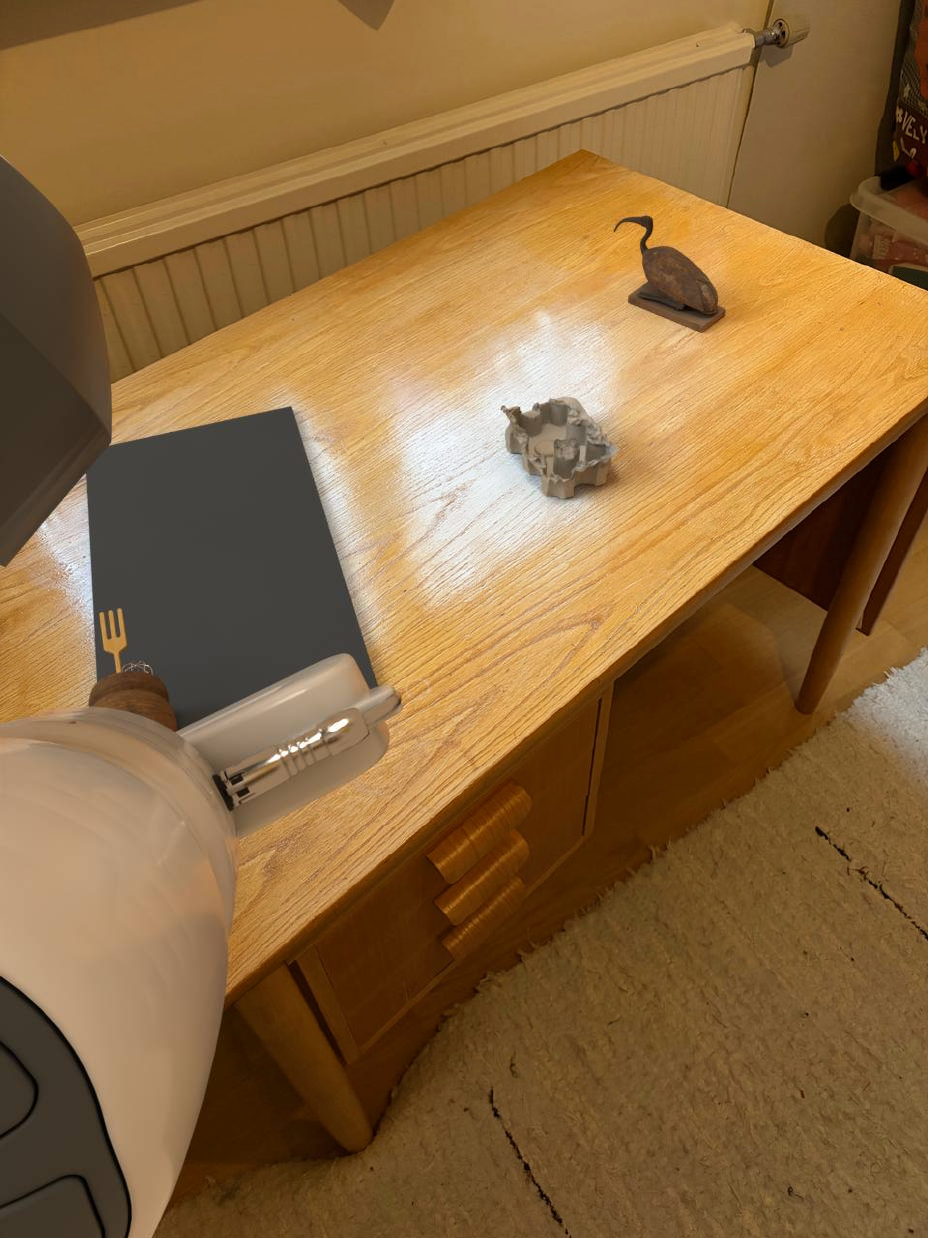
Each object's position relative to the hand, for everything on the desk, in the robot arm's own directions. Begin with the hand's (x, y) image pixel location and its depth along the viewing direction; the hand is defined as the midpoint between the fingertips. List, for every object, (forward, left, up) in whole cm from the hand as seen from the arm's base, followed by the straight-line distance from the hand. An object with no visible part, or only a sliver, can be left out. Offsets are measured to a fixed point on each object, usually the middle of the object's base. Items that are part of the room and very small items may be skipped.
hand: (139, 791), depth 37 cm
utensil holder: (-5, +12, -17) cm, 21 cm away
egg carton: (+34, +36, -21) cm, 54 cm away
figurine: (+54, +57, -21) cm, 82 cm away
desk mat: (+2, +34, -20) cm, 40 cm away
